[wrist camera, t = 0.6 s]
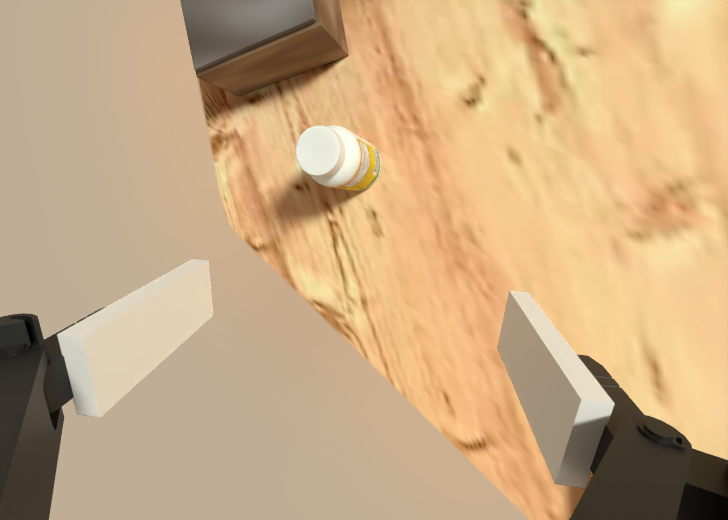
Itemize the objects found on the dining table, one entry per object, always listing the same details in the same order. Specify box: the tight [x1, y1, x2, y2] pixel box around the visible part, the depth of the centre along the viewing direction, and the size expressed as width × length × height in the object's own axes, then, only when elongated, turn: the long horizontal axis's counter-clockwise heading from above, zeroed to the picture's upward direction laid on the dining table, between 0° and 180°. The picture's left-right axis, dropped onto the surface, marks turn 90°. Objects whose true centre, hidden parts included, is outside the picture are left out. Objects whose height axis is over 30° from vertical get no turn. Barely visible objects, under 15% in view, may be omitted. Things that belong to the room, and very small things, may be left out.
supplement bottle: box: [296, 125, 381, 191], centre depth 34 cm, size 5×5×10 cm
